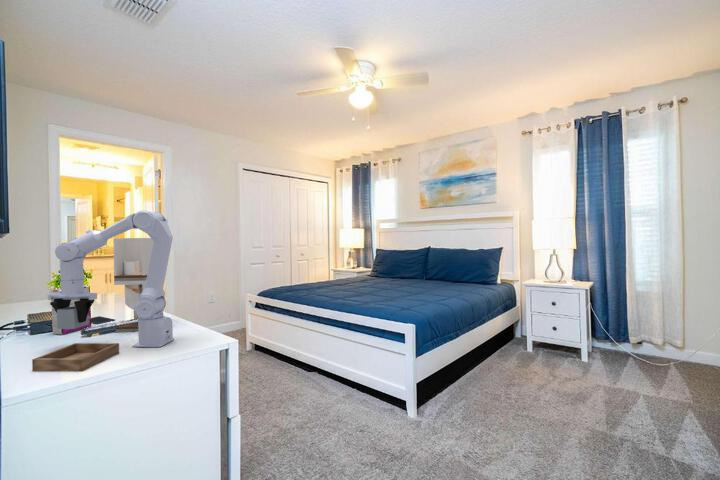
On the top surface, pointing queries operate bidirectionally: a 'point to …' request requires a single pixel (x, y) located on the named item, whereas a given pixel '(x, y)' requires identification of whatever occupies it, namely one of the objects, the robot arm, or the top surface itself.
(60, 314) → the grey crate
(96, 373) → the top surface
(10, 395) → the top surface
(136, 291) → the display case
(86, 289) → the candy bar box
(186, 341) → the top surface
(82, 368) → the walnut crate
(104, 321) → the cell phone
